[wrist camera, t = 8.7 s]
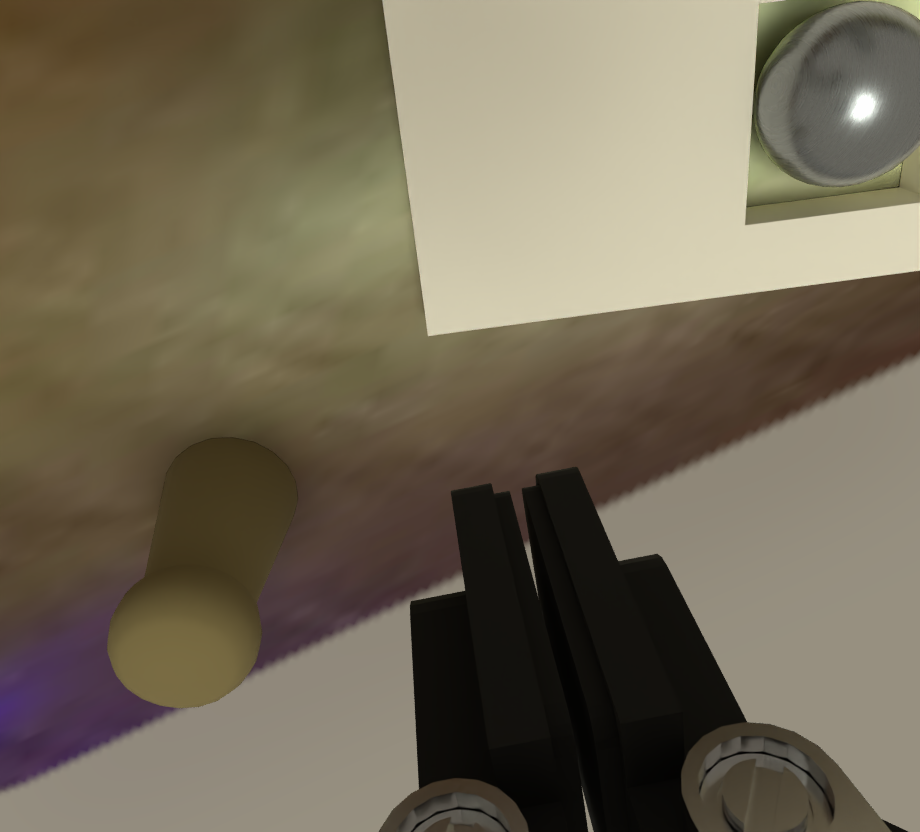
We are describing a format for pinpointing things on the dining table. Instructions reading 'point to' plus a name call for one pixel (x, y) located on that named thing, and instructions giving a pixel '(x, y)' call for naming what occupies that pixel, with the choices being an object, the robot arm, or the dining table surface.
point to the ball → (842, 95)
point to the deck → (606, 163)
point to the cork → (204, 575)
